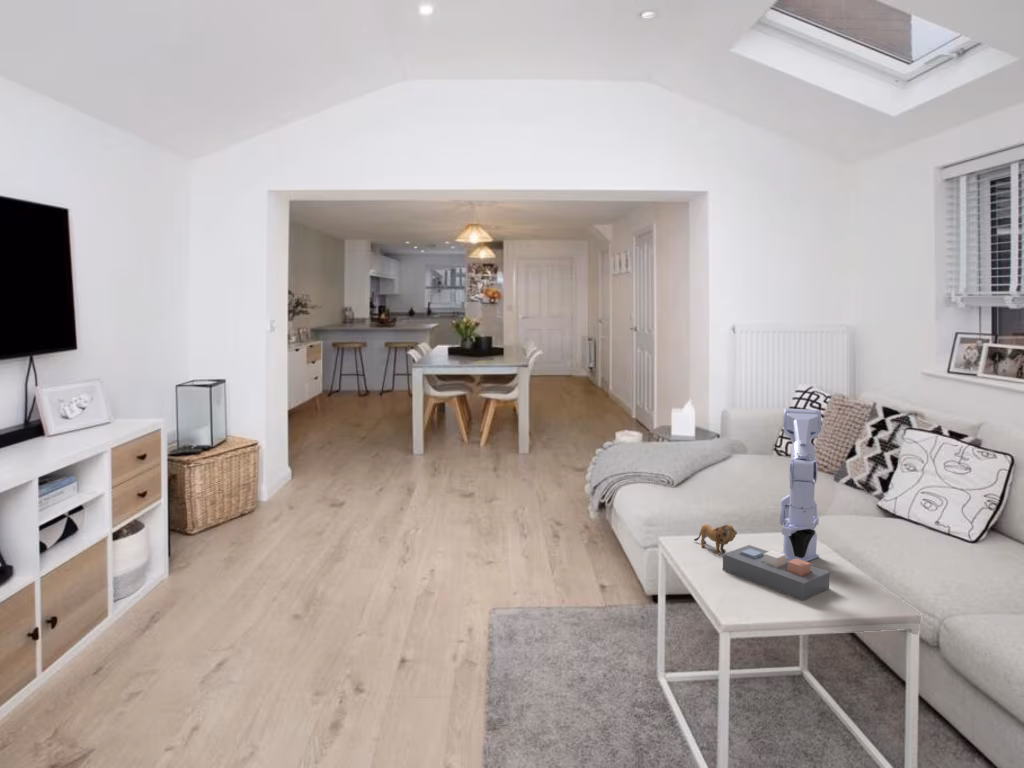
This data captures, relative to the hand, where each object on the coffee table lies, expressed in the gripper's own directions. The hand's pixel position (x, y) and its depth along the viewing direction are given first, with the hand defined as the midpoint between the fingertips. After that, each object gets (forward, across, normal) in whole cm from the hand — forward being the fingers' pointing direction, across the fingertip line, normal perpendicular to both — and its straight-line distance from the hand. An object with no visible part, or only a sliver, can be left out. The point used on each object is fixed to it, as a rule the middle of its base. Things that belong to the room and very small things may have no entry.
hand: (799, 556), depth 164 cm
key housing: (+8, 0, -7) cm, 11 cm away
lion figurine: (+9, -7, -30) cm, 32 cm away
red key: (+5, 0, 0) cm, 5 cm away
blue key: (+6, -1, -14) cm, 15 cm away
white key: (+5, 0, -7) cm, 8 cm away
